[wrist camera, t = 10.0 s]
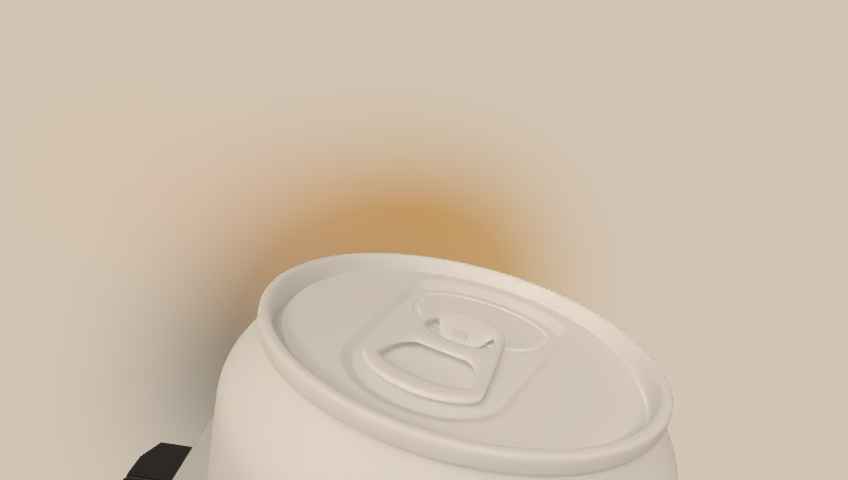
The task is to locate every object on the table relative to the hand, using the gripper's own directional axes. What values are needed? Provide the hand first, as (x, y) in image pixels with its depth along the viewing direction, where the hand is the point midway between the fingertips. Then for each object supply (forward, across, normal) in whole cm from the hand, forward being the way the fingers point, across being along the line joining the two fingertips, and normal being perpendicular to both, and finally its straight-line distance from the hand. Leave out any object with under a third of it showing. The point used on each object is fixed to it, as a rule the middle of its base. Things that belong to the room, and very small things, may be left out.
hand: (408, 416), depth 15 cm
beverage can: (-5, 0, -7) cm, 8 cm away
